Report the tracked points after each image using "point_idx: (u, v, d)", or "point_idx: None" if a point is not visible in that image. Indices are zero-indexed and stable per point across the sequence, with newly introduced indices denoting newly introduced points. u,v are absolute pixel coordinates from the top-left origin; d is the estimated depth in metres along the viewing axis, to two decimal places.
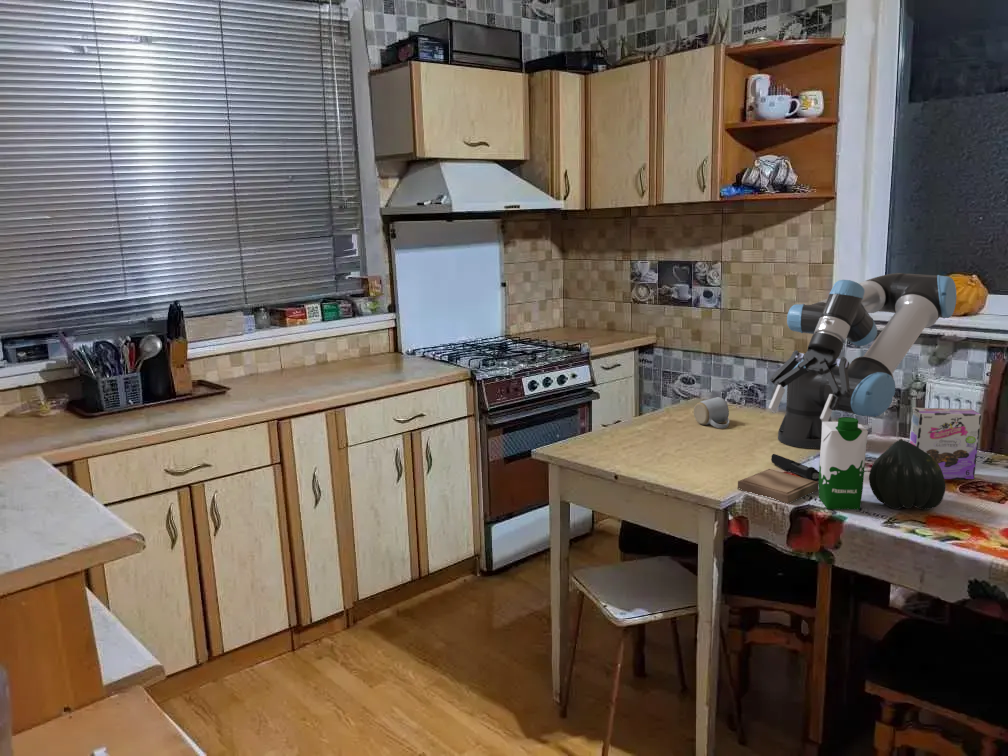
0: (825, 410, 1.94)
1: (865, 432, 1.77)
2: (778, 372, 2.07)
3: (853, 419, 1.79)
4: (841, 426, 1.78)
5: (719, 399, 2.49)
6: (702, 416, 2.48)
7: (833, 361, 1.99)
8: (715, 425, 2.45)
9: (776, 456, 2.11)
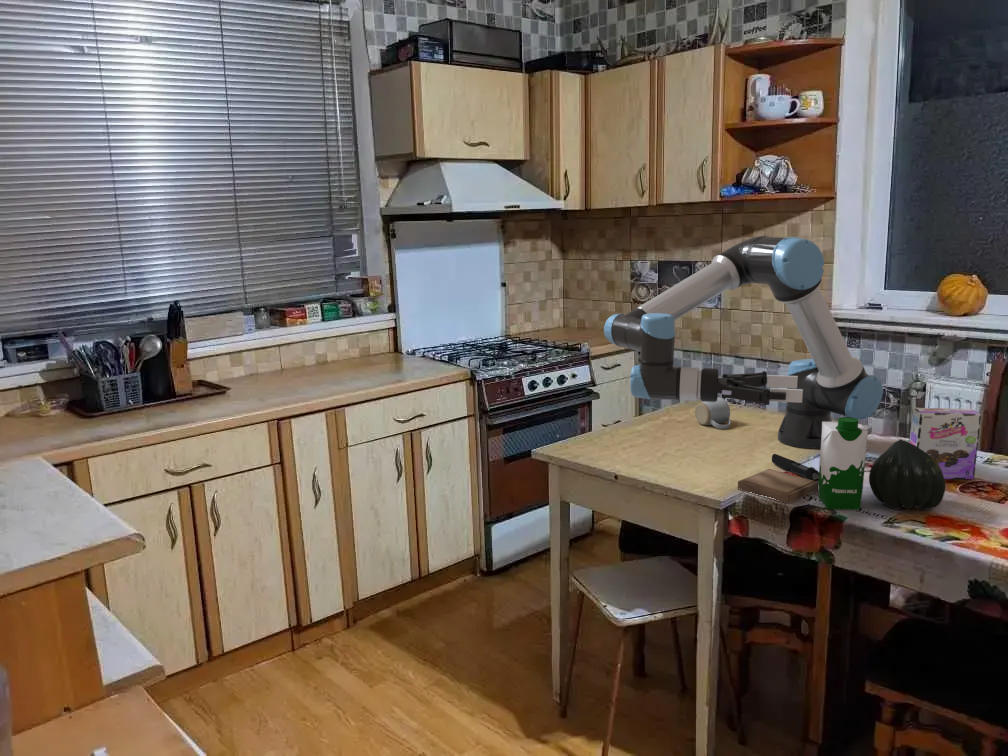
0: (790, 401, 1.76)
1: (865, 432, 1.77)
2: None
3: (853, 419, 1.79)
4: (841, 426, 1.78)
5: (720, 399, 2.49)
6: (703, 417, 2.47)
7: None
8: (716, 426, 2.44)
9: (776, 456, 2.11)
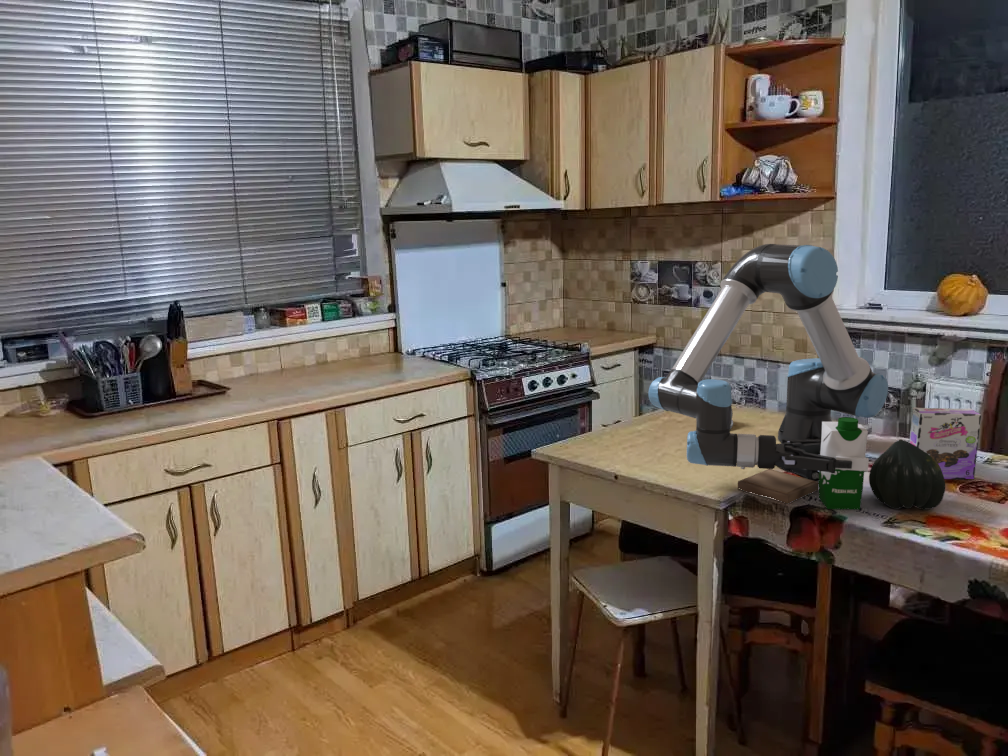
0: (856, 469, 1.77)
1: (865, 432, 1.77)
2: None
3: (853, 419, 1.79)
4: (841, 426, 1.78)
5: None
6: None
7: None
8: None
9: None
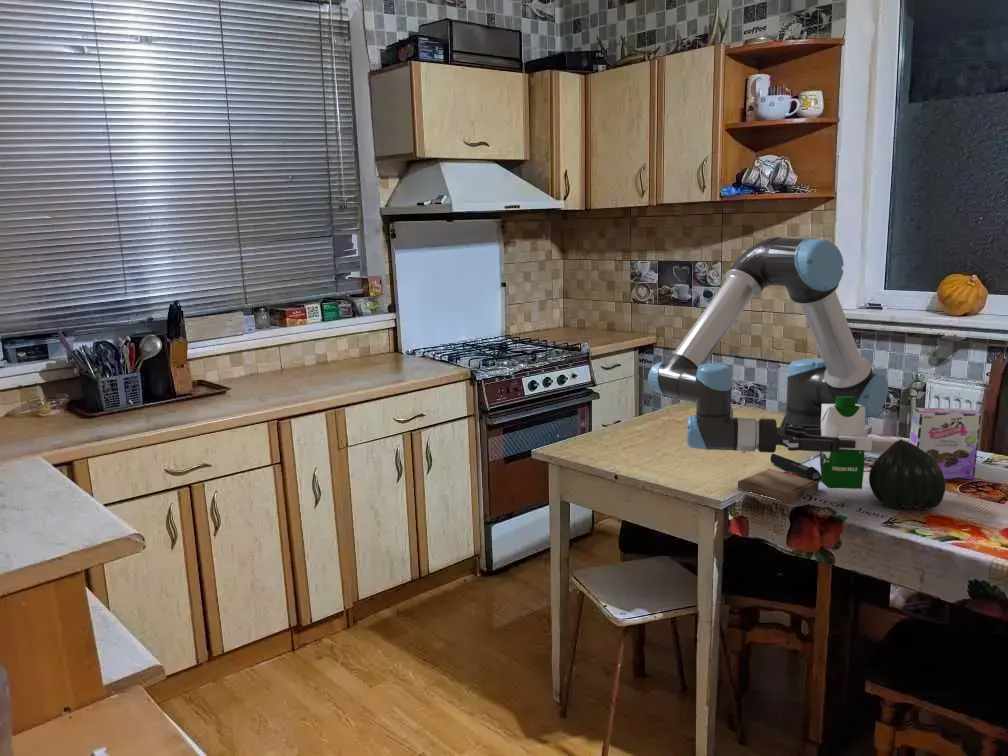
0: (860, 449, 1.78)
1: (862, 408, 1.79)
2: None
3: (850, 397, 1.81)
4: (838, 402, 1.80)
5: None
6: None
7: None
8: None
9: (775, 456, 2.11)
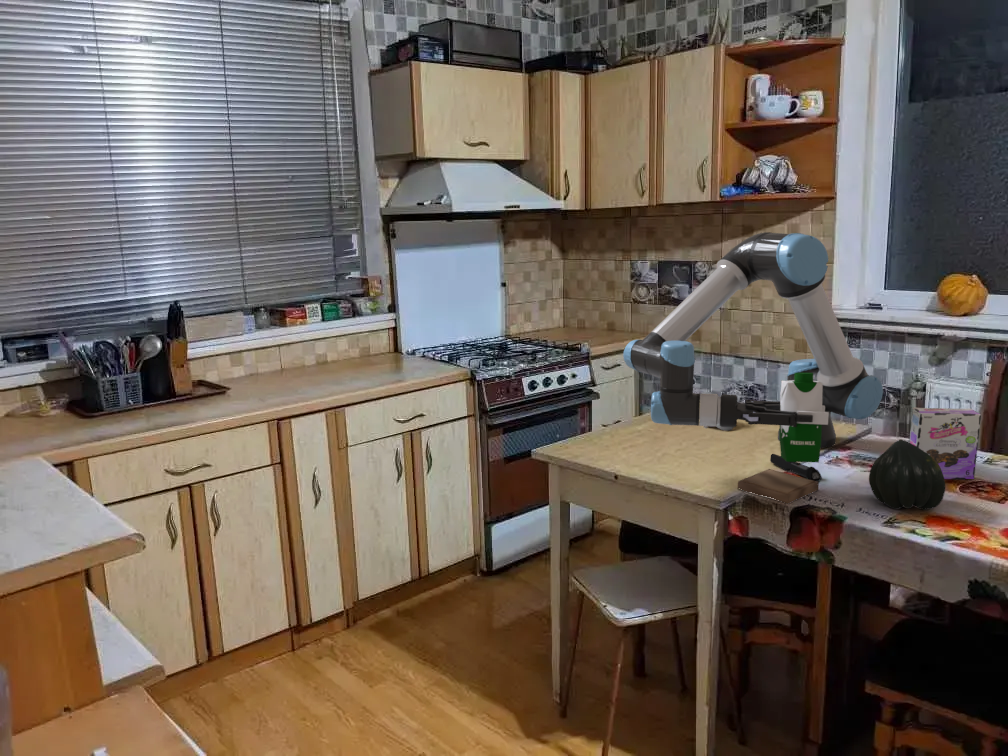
0: (817, 423, 1.84)
1: (819, 383, 1.84)
2: None
3: None
4: (797, 378, 1.86)
5: None
6: None
7: None
8: (720, 427, 2.43)
9: (775, 456, 2.11)
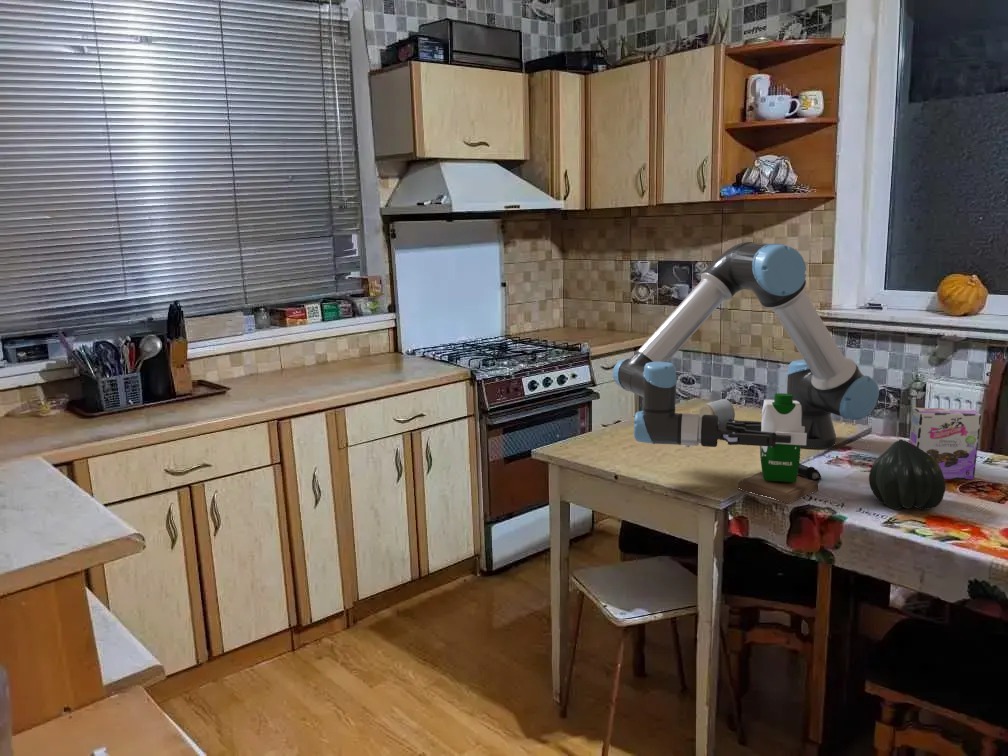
0: None
1: (798, 406, 1.88)
2: None
3: (789, 395, 1.90)
4: (776, 400, 1.89)
5: (725, 401, 2.47)
6: None
7: None
8: None
9: None
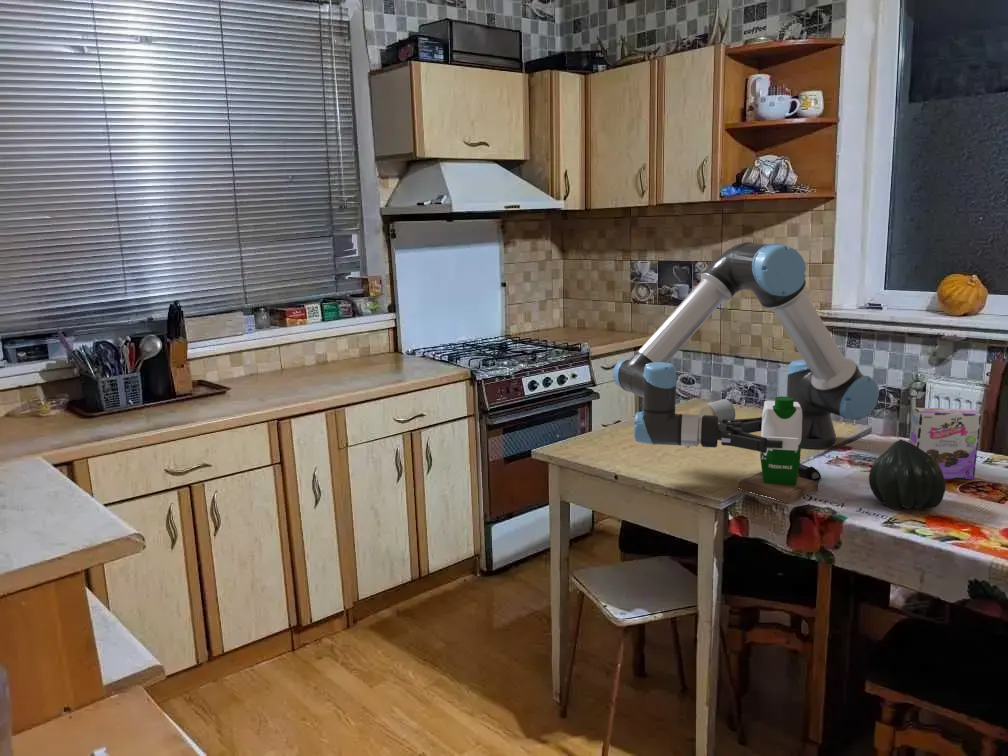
0: (787, 449, 1.85)
1: (799, 410, 1.86)
2: None
3: (789, 398, 1.88)
4: (777, 404, 1.88)
5: (725, 401, 2.46)
6: None
7: None
8: None
9: None
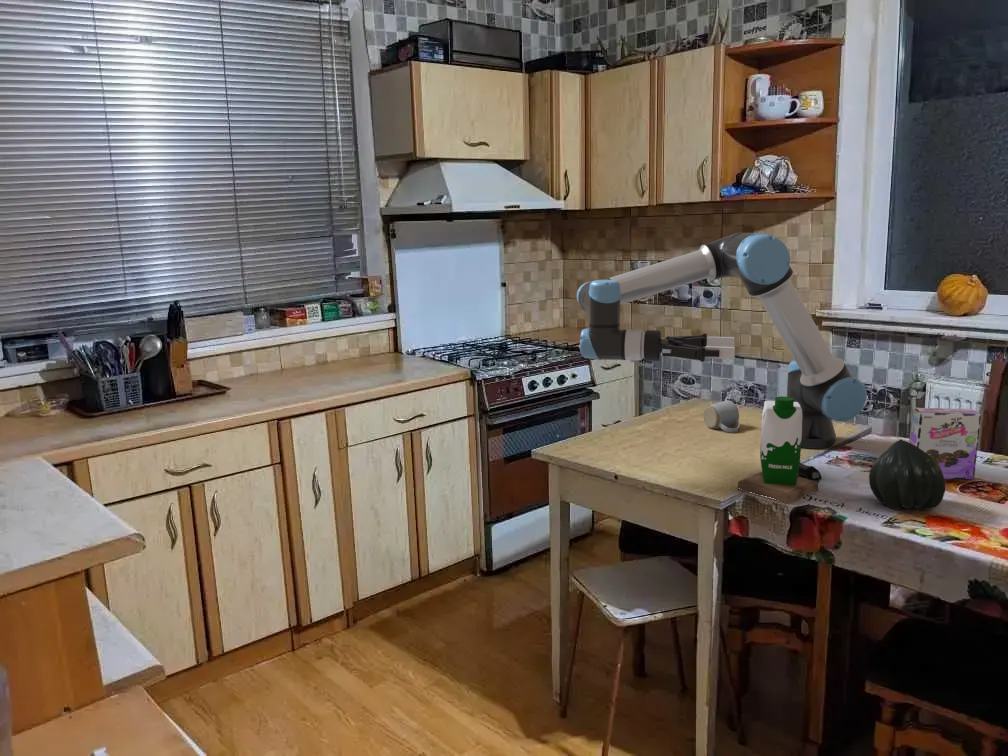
0: (724, 358, 1.91)
1: (799, 410, 1.86)
2: None
3: (789, 398, 1.88)
4: (777, 404, 1.88)
5: (729, 402, 2.45)
6: (712, 420, 2.43)
7: None
8: (725, 429, 2.40)
9: None
